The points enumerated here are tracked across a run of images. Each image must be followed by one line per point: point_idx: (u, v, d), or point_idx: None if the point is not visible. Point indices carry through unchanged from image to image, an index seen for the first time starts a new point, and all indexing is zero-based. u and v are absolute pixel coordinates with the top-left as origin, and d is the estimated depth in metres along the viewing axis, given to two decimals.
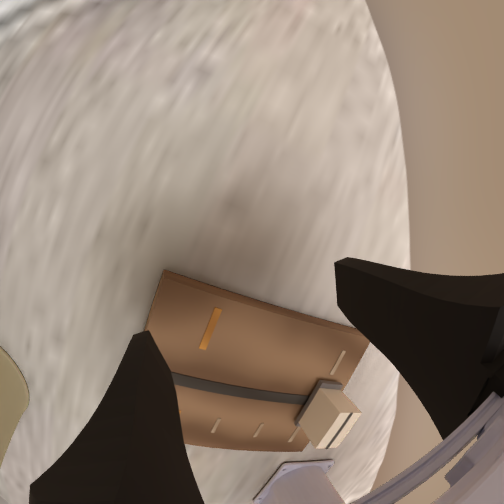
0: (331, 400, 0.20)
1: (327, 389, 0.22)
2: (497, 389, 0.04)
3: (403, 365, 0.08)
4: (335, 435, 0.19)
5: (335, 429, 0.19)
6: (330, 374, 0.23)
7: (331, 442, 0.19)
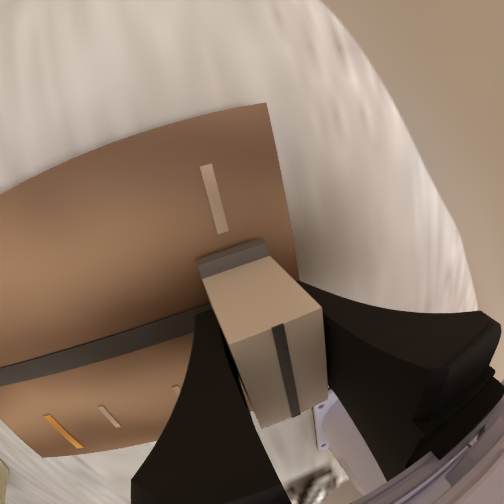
0: (215, 307, 0.08)
1: (224, 273, 0.10)
2: (433, 450, 0.04)
3: (345, 400, 0.08)
4: (290, 388, 0.08)
5: (268, 381, 0.07)
6: (219, 233, 0.10)
7: (295, 403, 0.08)
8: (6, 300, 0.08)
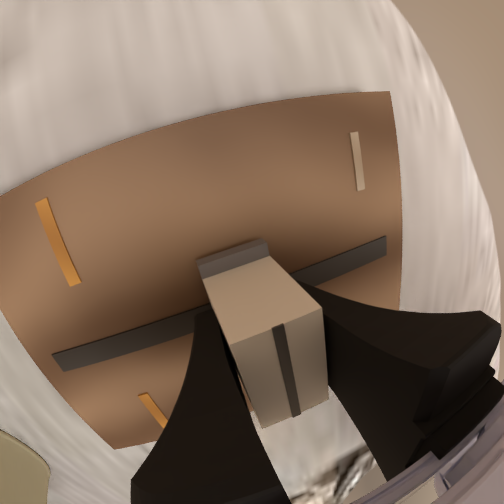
0: (216, 308, 0.08)
1: (225, 273, 0.10)
2: (433, 450, 0.04)
3: (345, 400, 0.08)
4: (290, 387, 0.08)
5: (268, 381, 0.07)
6: (358, 190, 0.11)
7: (295, 402, 0.08)
8: (132, 252, 0.09)
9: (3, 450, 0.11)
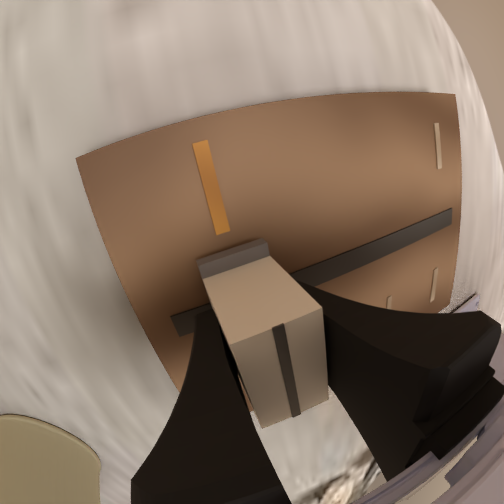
0: (216, 308, 0.08)
1: (225, 273, 0.10)
2: (434, 450, 0.04)
3: (345, 400, 0.08)
4: (290, 388, 0.08)
5: (268, 381, 0.07)
6: (438, 169, 0.13)
7: (295, 402, 0.08)
8: (285, 202, 0.11)
9: (55, 447, 0.12)
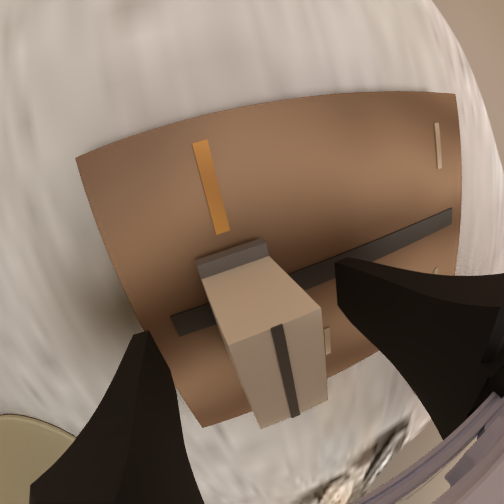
0: (215, 308, 0.08)
1: (224, 273, 0.10)
2: (496, 390, 0.04)
3: (403, 365, 0.08)
4: (289, 388, 0.08)
5: (267, 381, 0.07)
6: (438, 168, 0.12)
7: (294, 403, 0.08)
8: (285, 202, 0.11)
9: (54, 447, 0.12)
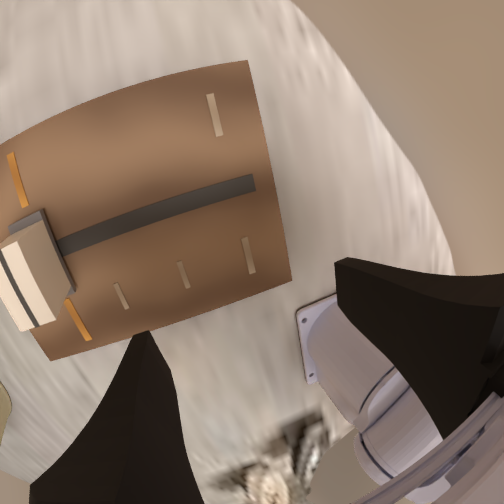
0: None
1: (18, 231, 0.12)
2: (496, 389, 0.05)
3: (403, 365, 0.08)
4: (22, 299, 0.10)
5: (7, 289, 0.10)
6: (217, 136, 0.15)
7: (30, 313, 0.10)
8: (59, 184, 0.13)
9: None
